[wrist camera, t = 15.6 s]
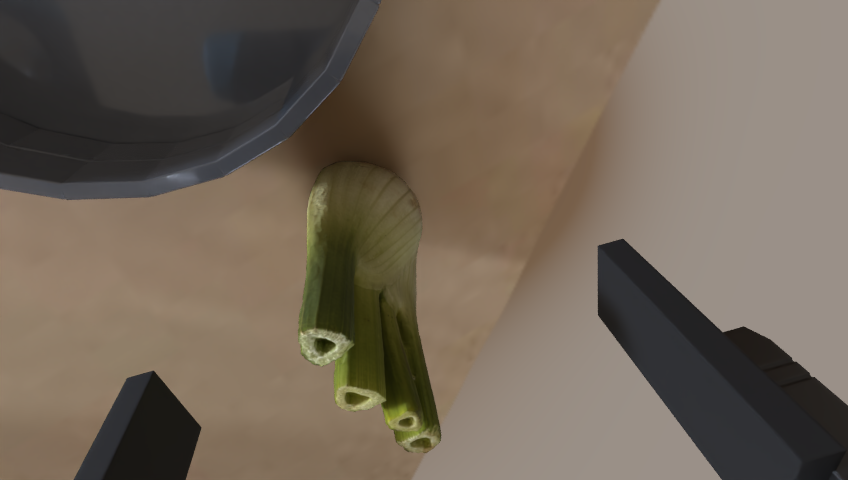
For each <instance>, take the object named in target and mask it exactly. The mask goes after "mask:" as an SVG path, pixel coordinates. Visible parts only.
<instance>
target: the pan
mask: <svg viewBox="0 0 848 480" xmlns="http://www.w3.org/2000/svg"><path fill="white" fill-rule="evenodd" d="M380 3H381V0H0V189H4V190H10V191H16V192H22V193H28V194H34V195H40V196H46V197H52V198H58V199H66V200H81V199H110V198H139V197H153V196H157V195H160V194H164V193H168V192H171V191H175V190H178V189H182V188H186V187H189V186H193V185H197V184H200V183H204V182H207V181H211V180H215V179H218V178H222V177H224V176H226V175H229V174H230V173H232V172H234V171H235V170H237V169H239V168H240V167H242V166H244V165H245V164H247V163H249V162H250V161H252V160H254V159H255V158H257V157H259V156H260V155H262V154H264V153H265V152H267V151H269V150H270V149H272V148H274V147H275V146H277V145H279V144H281V143H282V142H284V141H286V140H287V139H288V138H290V137H291V136H292V135H293V134H294V133H295V131H296V130H297V129H298V128H299V127H300V126H301V125H302V124H303V123H304V122H305V121H306V120H307V118H308V117H309V116H310V115H311V114H312V113H313V112H314V111H315V110H316V109H317V108H318V107H319V106H320V104H321V103H322V102H323V101H324V100H325V99H326V98H327V97H328V96H329V95H330V94H331V93H332V92H333V90H334V89H335V88H336V87H337V86H338V85H339V84H340V81H342V79H343V77H344V75H345V73H346V71H347V69H348V67H349V66H350V64H351V62H352V60H353V58H354V56H355V54H356V52H357V50H358V48H359V46H360V44H361V42H362V40H363V38H364V36H365V34H366V32H367V30H368V28H369V26H370V24H371V22H372V21H373V19H374V17H375V15H376V13H377V11H378V9H379V4H380Z"/></svg>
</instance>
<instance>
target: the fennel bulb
mask: <svg viewBox="0 0 848 480" xmlns="http://www.w3.org/2000/svg"><path fill="white" fill-rule="evenodd" d="M308 200H309V205H308V209H307V267H306V271H307V273H306V280H305V288H304V294H303V304H302V307H301V311H300V314H299V329H298V342H299V343H300V346H301V354H302V355H303V356H304V357H305V359H307V360H308V361H310V362H311V363H312V364H314V365H319V366H321V367H322V366H324V365H327V364H329V363H331V362H332V361H334V360H335V372H334V391H335V394H334V398H335V403H336V404H337V405H338V406H339V407H340V408H341V409H346V410H348V411H353V412H356V411H358V410H369V409H370V408H373V407H374V406H375V405H378V404H380V403H381V406H382V408H383V412H384V416H385V422H386V424H387V425H388V427H389V428H390V429H392V430H394V434H395V439H396V442H397V443H398V444H399V445H400V446H403V447H404V450H406V451H408V452H417V453H420V452H423V453H427V452H429V451H430V450H432V449H433V448H434V447H435V446H436V445H437V444H439V443H440V441H441V430H440V424H439V420H438V415H437V410H436V405H435V401H434V396H433V392H432V389H431V385H430V380H429V376H428V371H427V367H426V363H425V358H424V354H423V349H422V345H421V339H420V336H419V332H418V324H417V317H416V256H417V250H418V245H419V241H420V237H421V233H422V216H421V210H420V206H419V203H418V200H417V198H416V196H415V194H414V193H413V192H412V190H411V189H410V188H409V187H408V185H407V184H406V183H405V182H404V181H403V180H402V179H401V178H400V177H398V176H397V175H396V174H394V173H393V172H391V171H389V170H388V169H385V168H382V167H379V166H377V165H374V164H371V163H366V162H356V161H344V162H337V163H333V164H332V165H329V166H327V167H325V168H323V169H322V171H321V172H320V173H319V175H318V177H317V180H316V181H315V184H314V186H313V188H312V191H311V193H310V197H309V199H308Z"/></svg>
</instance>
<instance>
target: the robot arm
mask: <svg viewBox="0 0 848 480" xmlns="http://www.w3.org/2000/svg"><path fill="white" fill-rule="evenodd" d="M598 316H599V317H600V318H601V320H602V321H603V322H604V324H605V325H606V326H607V327H608V329H609V330H610V331H611V333H612V334H613V335H614V337H615V338H616V340H617V341H618V342H619V343H620V345H621V346H622V348H623V349H624V350H625V351H626V353H627V354H628V356H629V357H630V358H631V360H632V361H633V362H634V363H635V365H636V366H637V367H638V369H639V370H640V371H641V373H642V374H643V375H644V377H645V378H646V379H647V381H648V382H649V383H650V385H651V386H652V387H653V389H654V390H655V391H656V393H657V394H658V395H659V397H660V398H661V399H662V401H663V402H664V403H665V405H666V406H667V407H668V409H669V410H670V411H671V413H672V414H673V415H674V417H675V418H676V419H677V421H678V422H679V423H680V425H681V426H682V427H683V429H684V430H685V431H686V433H687V434H688V435H689V437H691V439H692V441H693V442H694V443H695V444H696V446H697V447H698V449H699V450H700V451H701V453H702V454H703V455H704V457H706V459H707V461H708V462H709V463H710V464H711V466H712V467H713V468H714V470H715V471H716V472H717V474H718V475H719V476H720V478H721V479H722V480H848V405H846V404H845V403H844V402H843V401H842V400H841V399H839V398H838V397H837V396H836V395H834V393H832V392H831V391H830V390H829V389H828V388H826V387H825V386H824V385H823V384H822V383H821V382H820V381H818V380H817V379H816V378H815V377H811V376H810V373H809V372H808V371H807V370H805V369H804V368H803V367H802V366H801V365H800V364H798V363H797V362H794V361H793V360H792V358H791V357H790V356H789V355H788V354H787V353H785V352H784V351H783V350H782V349H780V347H778V346H777V345H776V344H775V343H774V342H772V341H771V340H770V339H768V338H766V337H764V336H762V335H760V334H758V333H756V332H754V331H752V330H750V329H748V328H746V327H740V328H737V329H734V330H730V331H726V332H722V331H721V330H720V329H718V328H717V327H716V326H715V325H714V324H713V323H712V322H711V321H710V320H709V319H708V318H707V317H706V316H705V315H704V314H702V313H701V312H700V311H699V310H698V309H697V308H696V307H695V306H694V305H693V304H692V303H691V302H690V301H689V300H688V299H687V298H685V297H684V296H683V295H682V294H681V293H680V292H679V291H678V290H677V289H676V288H675V287H674V286H673V285H672V284H671V283H670V282H668V281H667V280H666V279H665V278H664V277H663V276H662V275H661V274H660V273H659V272H658V271H657V270H656V269H655V268H654V267H653V266H652V265H650V264H649V263H648V262H647V261H646V260H645V259H644V258H643V257H642V256H641V255H640V254H639V253H638V252H637V251H636V250H634V249H633V248H632V247H631V246H630V245H629V244H628V243H627V242H626V241H625V240H624V239H621V240H617V241H613V242H610V243H606V244H603V245H599V246H598ZM200 431H201V427H200V425H199V424H198V423H197V422H196V421H195V419H194V418H193V417H192V416H191V415H190V413H189V412H188V411H187V410H186V409H185V407H184V406H183V405H182V404H181V403H180V401H179V400H178V399H177V398H176V397H175V395H174V394H173V393H172V392H171V391H170V389H169V388H168V387H167V386H166V385H165V383H164V382H163V381H162V380H161V379H160V378H159V376H158V375H157V374H156V373H155V372H154V371H151V372H147V373H143V374H140V375H136V376H133V377H129V378H127V379H126V381H125V383H124V385H123V387H122V389H121V391H120V393H119V395H118V397H117V398H116V400H115V402H114V404H113V406H112V408H111V410H110V412H109V414H108V416H107V417H106V419H105V421H104V423H103V425H102V427H101V429H100V431H99V433H98V435H97V436H96V438H95V440H94V442H93V444H92V446H91V448H90V450H89V452H88V454H87V455H86V457H85V459H84V461H83V463H82V465H81V467H80V469H79V471H78V473H77V474H76V476H75V478H74V480H186V477H187V473H188V470H189V467H190V464H191V460H192V457H193V454H194V450H195V447H196V444H197V441H198V437H199V434H200Z"/></svg>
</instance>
